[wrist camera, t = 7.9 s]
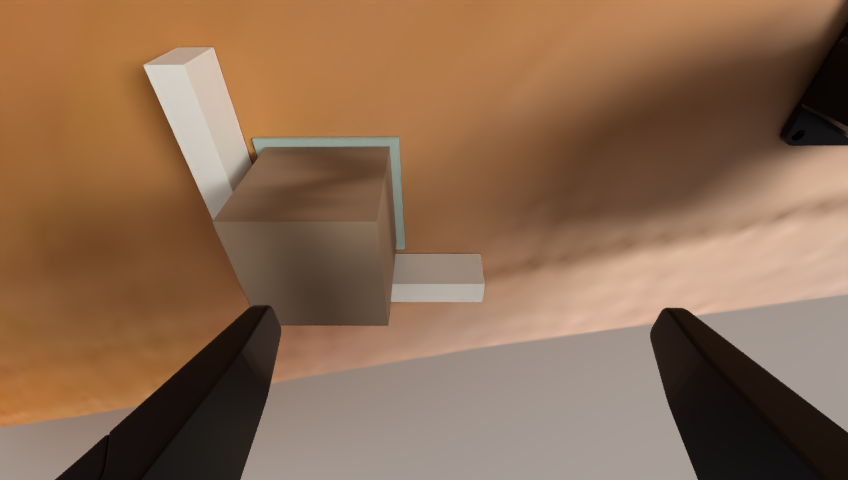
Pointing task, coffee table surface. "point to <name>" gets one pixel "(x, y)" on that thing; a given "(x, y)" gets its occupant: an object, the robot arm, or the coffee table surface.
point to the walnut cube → (315, 234)
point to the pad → (351, 141)
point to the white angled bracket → (229, 163)
